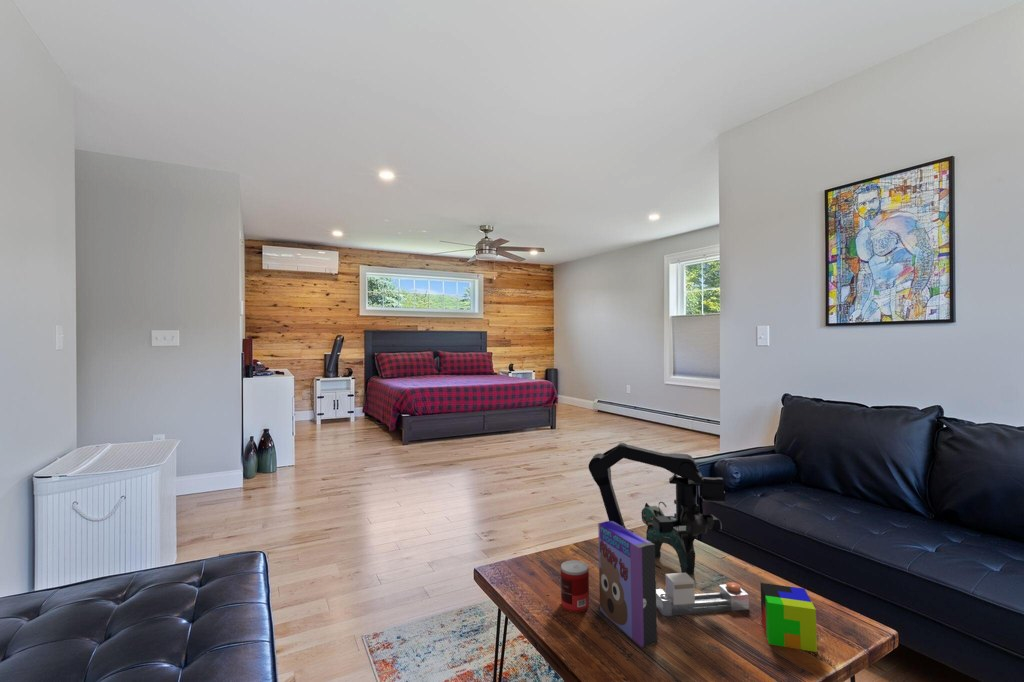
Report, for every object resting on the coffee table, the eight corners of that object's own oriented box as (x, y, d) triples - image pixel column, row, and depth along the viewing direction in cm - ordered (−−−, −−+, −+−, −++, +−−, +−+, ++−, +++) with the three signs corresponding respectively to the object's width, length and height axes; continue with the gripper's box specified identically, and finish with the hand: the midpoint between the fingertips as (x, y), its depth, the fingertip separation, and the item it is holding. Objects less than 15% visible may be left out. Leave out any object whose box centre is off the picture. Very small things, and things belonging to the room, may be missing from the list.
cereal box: (599, 610, 127) (598, 522, 128) (614, 606, 129) (612, 520, 130) (641, 647, 111) (639, 547, 112) (657, 642, 113) (654, 543, 114)
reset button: (731, 606, 128) (731, 589, 128) (724, 599, 131) (723, 582, 131) (743, 605, 128) (743, 588, 128) (736, 598, 131) (735, 581, 132)
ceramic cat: (640, 554, 162) (639, 496, 162) (654, 550, 165) (653, 493, 165) (686, 578, 144) (684, 513, 145) (700, 573, 147) (699, 510, 148)
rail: (663, 615, 124) (662, 599, 124) (654, 603, 130) (653, 588, 130) (748, 609, 127) (748, 593, 127) (736, 597, 133) (735, 582, 133)
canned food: (592, 601, 132) (591, 562, 132) (584, 616, 125) (583, 575, 125) (566, 595, 135) (565, 557, 136) (557, 609, 128) (556, 569, 128)
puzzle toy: (805, 628, 118) (804, 588, 118) (817, 652, 109) (815, 609, 109) (761, 621, 121) (760, 582, 122) (769, 644, 112) (767, 602, 112)
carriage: (674, 605, 125) (673, 583, 125) (665, 595, 130) (665, 573, 130) (695, 604, 126) (694, 581, 126) (686, 594, 131) (685, 572, 131)
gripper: (667, 509, 127) (668, 567, 127) (732, 507, 129) (733, 563, 129) (651, 497, 138) (652, 549, 138) (711, 494, 140) (711, 546, 140)
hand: (687, 552), depth 136 cm, fingers closed
